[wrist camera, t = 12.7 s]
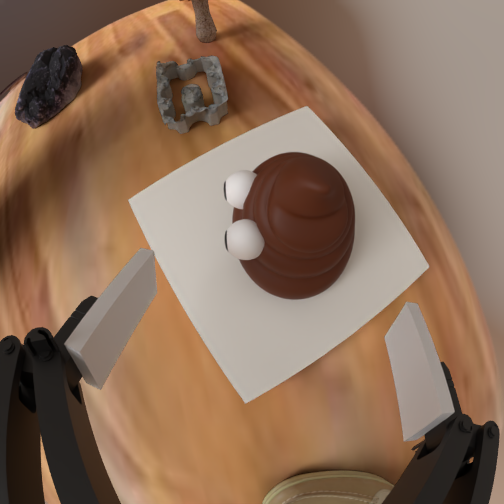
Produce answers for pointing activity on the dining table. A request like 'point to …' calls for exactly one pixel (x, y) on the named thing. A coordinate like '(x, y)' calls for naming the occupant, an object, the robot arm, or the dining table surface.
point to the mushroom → (203, 21)
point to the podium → (237, 280)
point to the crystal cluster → (49, 85)
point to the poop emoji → (291, 224)
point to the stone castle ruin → (191, 93)
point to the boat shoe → (330, 489)
